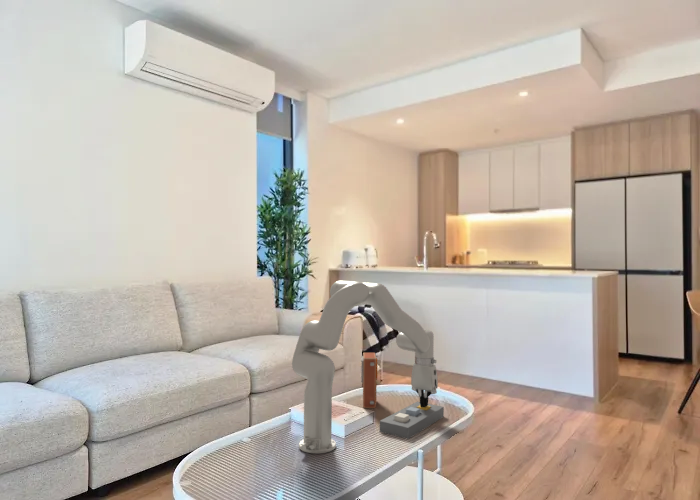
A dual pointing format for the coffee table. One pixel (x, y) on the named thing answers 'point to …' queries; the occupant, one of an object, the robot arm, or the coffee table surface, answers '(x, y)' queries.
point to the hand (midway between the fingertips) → (424, 406)
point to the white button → (401, 417)
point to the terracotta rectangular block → (369, 379)
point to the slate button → (413, 411)
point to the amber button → (424, 407)
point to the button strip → (411, 421)
